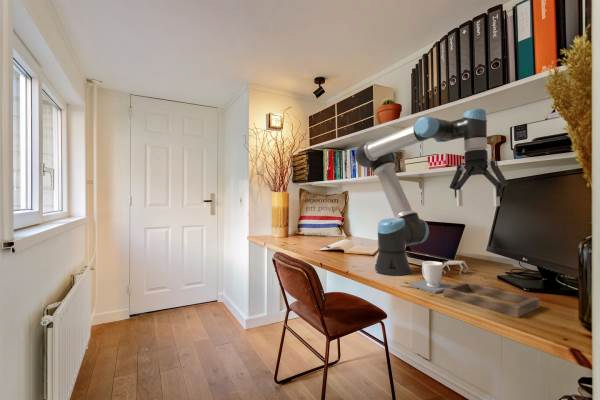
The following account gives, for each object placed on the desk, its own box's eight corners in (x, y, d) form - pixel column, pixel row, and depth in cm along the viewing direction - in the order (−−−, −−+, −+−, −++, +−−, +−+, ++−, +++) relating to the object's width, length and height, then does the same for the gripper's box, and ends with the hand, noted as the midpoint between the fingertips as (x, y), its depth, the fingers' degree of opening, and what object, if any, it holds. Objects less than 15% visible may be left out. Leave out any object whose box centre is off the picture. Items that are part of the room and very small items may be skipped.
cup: (429, 288, 100) (428, 265, 100) (414, 281, 110) (414, 259, 110) (448, 287, 101) (447, 264, 101) (431, 279, 111) (431, 258, 111)
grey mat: (408, 286, 106) (408, 283, 106) (427, 281, 112) (427, 279, 112) (435, 293, 97) (435, 291, 97) (454, 288, 103) (454, 285, 103)
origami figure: (451, 269, 130) (450, 258, 130) (470, 273, 123) (469, 261, 123) (434, 273, 124) (434, 261, 124) (453, 277, 116) (452, 265, 117)
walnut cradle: (443, 296, 94) (443, 288, 94) (466, 289, 101) (465, 282, 101) (518, 317, 76) (517, 308, 76) (539, 307, 83) (539, 298, 83)
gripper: (518, 145, 101) (520, 205, 101) (450, 156, 123) (451, 205, 123) (507, 143, 98) (509, 206, 97) (439, 155, 119) (441, 206, 119)
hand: (477, 206), depth 110 cm, fingers open, 13 cm apart
